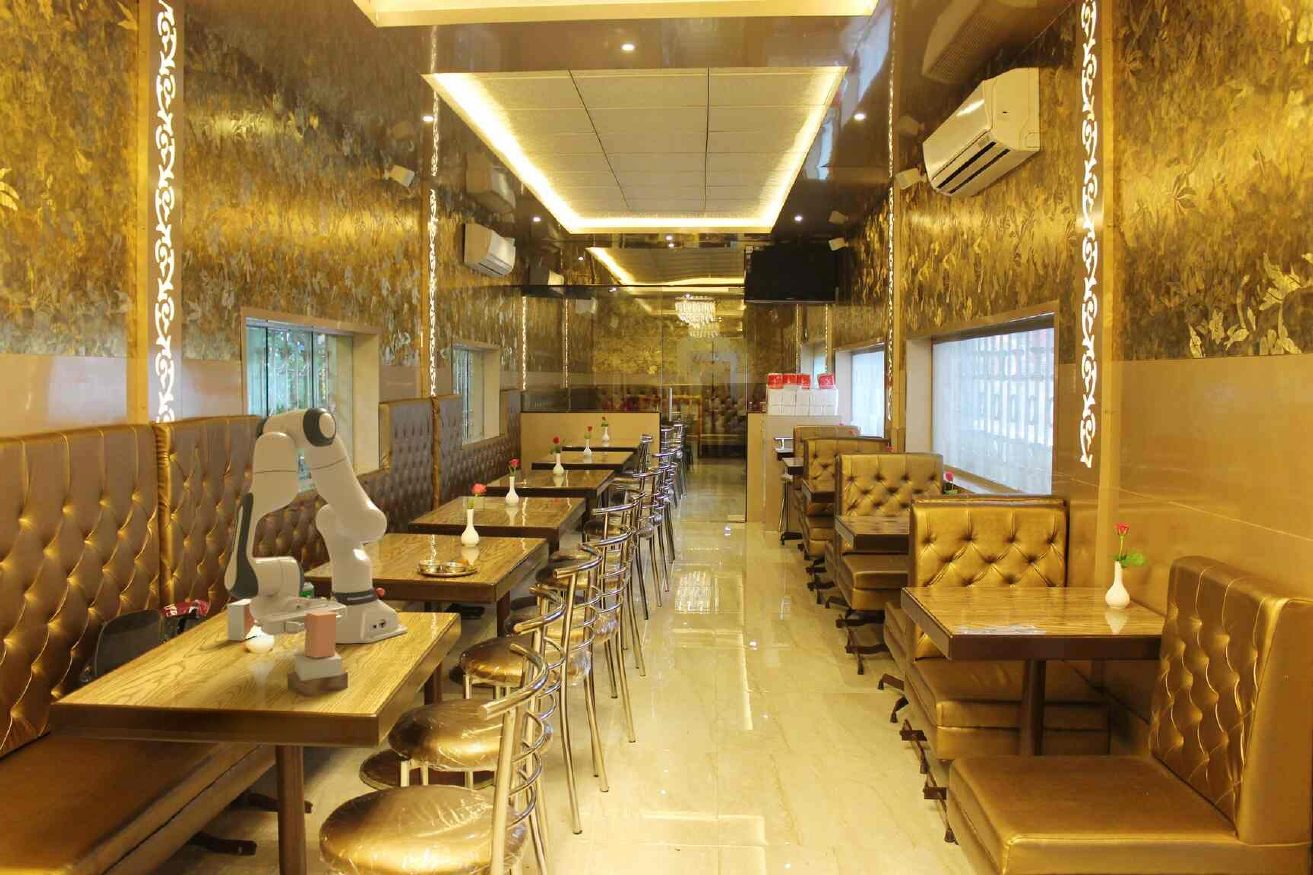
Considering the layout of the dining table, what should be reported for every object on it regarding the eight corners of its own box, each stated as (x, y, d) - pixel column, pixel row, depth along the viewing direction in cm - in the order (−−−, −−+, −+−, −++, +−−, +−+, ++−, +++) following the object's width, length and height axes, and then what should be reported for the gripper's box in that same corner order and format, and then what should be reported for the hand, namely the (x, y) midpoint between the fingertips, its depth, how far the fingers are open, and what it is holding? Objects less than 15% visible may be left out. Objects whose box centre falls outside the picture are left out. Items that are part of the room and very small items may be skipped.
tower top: (334, 665, 226) (334, 649, 226) (341, 674, 218) (341, 658, 218) (295, 670, 221) (295, 654, 221) (301, 680, 213) (301, 663, 213)
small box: (244, 641, 263) (243, 604, 263) (227, 640, 264) (226, 604, 264) (261, 634, 271) (261, 598, 270) (245, 633, 272) (244, 598, 272)
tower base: (326, 680, 227) (326, 664, 227) (347, 688, 220) (347, 672, 220) (287, 690, 219) (287, 673, 219) (308, 699, 213) (307, 682, 212)
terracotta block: (323, 651, 223) (325, 610, 224) (334, 655, 220) (336, 613, 220) (304, 654, 220) (306, 612, 220) (315, 658, 216) (317, 615, 216)
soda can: (292, 619, 289) (292, 581, 289) (317, 618, 290) (316, 581, 289) (285, 625, 282) (284, 586, 281) (310, 624, 282) (309, 585, 282)
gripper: (250, 609, 220) (278, 618, 211) (329, 595, 235) (358, 603, 226) (250, 636, 220) (278, 645, 211) (330, 620, 235) (359, 628, 226)
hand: (320, 623), depth 219 cm, fingers open, 8 cm apart
